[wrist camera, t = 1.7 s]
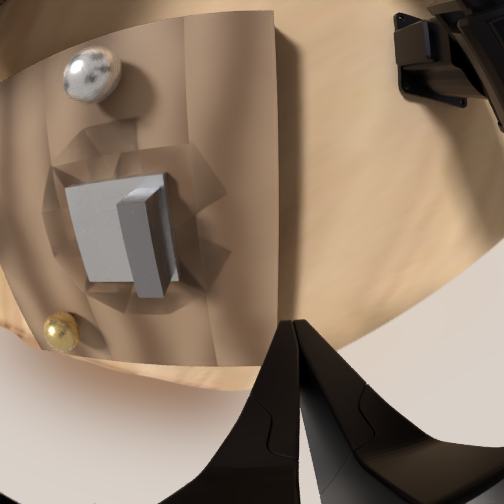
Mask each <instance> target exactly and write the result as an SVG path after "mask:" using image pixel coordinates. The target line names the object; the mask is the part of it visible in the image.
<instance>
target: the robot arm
mask: <svg viewBox="0 0 504 504" xmlns="http://www.w3.org/2000/svg"><path fill="white" fill-rule="evenodd" d="M426 8H427V9H428V10H429V11H430V13H431V14H432V15H435V17H434V18H431V19H428V20H422V19H419V18H416V17H413V16H410V15H407V14H404V13H397V14H395V15H394V26H395V32H394V42H395V56H396V63H397V65H398V86H399V89H400V91H401V92H402V93H405V94H409V95H414V96H418V97H423V98H427V99H431V100H435V101H439V102H442V103H446V104H449V105H453V106H456V107H459V108H465V107H466V106H467V98H478V99H488V101H489V103H490V105H491V107H492V109H493V111H494V114H495V116H496V118H497V120H498V126H499V128H500V131H501V132H503V133H504V0H437V1H435V2H434V3H432V4H431V5H429V6H427V7H426ZM399 17H401V18H402V20H403V21H401V20H400V19H399ZM404 84H406V85H407V90H406V89H405V88H404ZM460 101H462V104H461V102H460ZM300 408H301V413H302V417H303V422H304V426H305V430H306V435H307V439H308V444H309V448H310V452H311V457H312V461H313V466H314V471H315V475H316V479H317V485H318V489H319V494H320V499H321V503H322V504H504V447H481V446H472V445H464V444H456V443H450V442H443V441H440V440H437V439H434V438H433V437H431V436H429V435H427V434H426V433H425V432H423V431H422V430H421V429H419V428H418V427H417V426H415V425H414V424H413V423H412V422H410V421H409V420H408V419H406V418H405V417H404V416H403V415H401V414H400V413H399V412H398V411H396V410H395V409H394V408H393V407H391V406H390V405H389V404H388V403H387V402H386V401H385V400H384V399H383V398H381V397H380V396H379V395H378V394H377V393H376V392H375V391H374V390H373V389H372V388H371V387H370V386H369V385H368V384H367V385H366V382H365V381H364V380H363V379H362V378H361V377H360V375H359V374H358V373H357V372H356V371H355V370H354V369H353V368H351V366H350V365H349V364H348V363H347V362H346V361H345V360H344V359H343V358H342V357H341V356H340V355H339V354H338V353H337V352H336V351H335V350H334V349H333V348H332V347H331V346H330V344H329V343H328V342H327V341H326V340H325V339H324V338H323V337H322V336H321V335H320V334H319V333H318V332H317V331H316V330H315V329H314V328H313V327H312V326H311V325H310V324H309V323H308V322H307V321H306V320H305V319H301V320H293V322H292V321H291V320H284V321H280V322H279V324H278V326H277V329H276V332H275V334H274V337H273V339H272V342H271V344H270V347H269V349H268V352H267V354H266V357H265V359H264V362H263V364H262V366H261V369H260V371H259V374H258V376H257V378H256V381H255V383H254V386H253V388H252V390H251V393H250V396H249V397H248V399H247V402H246V404H245V406H244V408H243V410H242V412H241V414H240V416H239V418H238V420H237V422H236V423H235V425H234V427H233V428H232V430H231V432H230V433H229V435H228V436H227V438H226V439H225V440H224V442H223V443H222V445H221V446H220V448H219V449H218V451H217V452H216V454H215V455H214V456H213V458H212V459H211V461H210V462H209V463H208V465H207V466H206V467H205V468H204V469H203V471H202V472H201V473H200V474H199V475H198V476H197V477H196V478H195V479H193V480H192V481H191V482H189V483H188V484H186V485H185V486H184V487H182V488H181V489H179V490H178V491H176V492H175V493H173V494H172V495H171V496H169V497H167V498H166V499H164V500H163V501H161V502H160V503H158V504H301V503H300V490H299V471H298V470H299V461H298V460H299V429H300ZM0 504H20V503H18V502H17V501H15V500H13V499H11V498H10V497H8V496H6V495H4V494H3V493H1V492H0Z"/></svg>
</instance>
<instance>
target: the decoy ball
mask: <svg viewBox="0 0 504 504" xmlns="http://www.w3.org/2000/svg"><path fill="white" fill-rule="evenodd" d="M43 331H44V336H45V339H46V341H47V342H48V344H49V345H50V346H51V347H52V348H54V349H55V350H57V351H61V352H66V351H70V350H72V349H73V348H75V347H76V345H77V344H78V342H79V339H80V327H79V324H78V322H77V320H76V319H75V318H74V317H73V316H72V315H71V314H69V313H67V312H64V311H56V312H53V313H52V314H50V315H49V316H48V317H47V319H46V320H45V323H44V328H43Z"/></svg>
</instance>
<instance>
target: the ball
mask: <svg viewBox="0 0 504 504" xmlns="http://www.w3.org/2000/svg"><path fill="white" fill-rule="evenodd" d="M121 74H122V66H121V62H120V59H119V57H118V56H117V54H116V53H115V52H114V51H112V50H111V49H109V48H107V47H103V46H91V47H87V48H84V49H82V50H80V51H79V52H77V53H76V54H75V55H74V56H72V58H71V59H70V60H69V61H68V63H67V64H66V66H65V68H64V71H63V74H62V87H63V90H64V92H65V94H66V95H67V97H68V98H69V99H71V100H72V101H73V102H75V103H78V104H83V105H90V104H95V103H98V102H100V101H102V100H104V99H106V98H107V97H108V96H109V95H111V94H112V93H113V91H114V90H115V89H116V87H117V85H118V84H119V81H120V78H121Z"/></svg>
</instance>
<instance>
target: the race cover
mask: <svg viewBox="0 0 504 504" xmlns="http://www.w3.org/2000/svg"><path fill="white" fill-rule="evenodd" d="M65 192H66V197H67V201H68V206H69V210H70V215H71V219H72V223H73V227H74V231H75V235H76V239H77V242H78V246H79V249H80V253H81V256H82V259H83V263H84V266H85V269H86V272H87V275H88V278H89V281H90V282H134V284H135V288H136V291H137V295H138V298H164V296H165V294H166V291H167V289H168V286H169V284H170V281H179V280H180V277H181V270H180V264H179V259H178V253H177V246H176V240H175V234H174V227H173V220H172V213H171V205H170V198H169V190H168V181H167V172H157V173H148V174H139V175H131V176H124V177H117V178H110V179H103V180H97V181H91V182H85V183H79V184H73V185H70V186H68V187H66V188H65Z"/></svg>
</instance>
